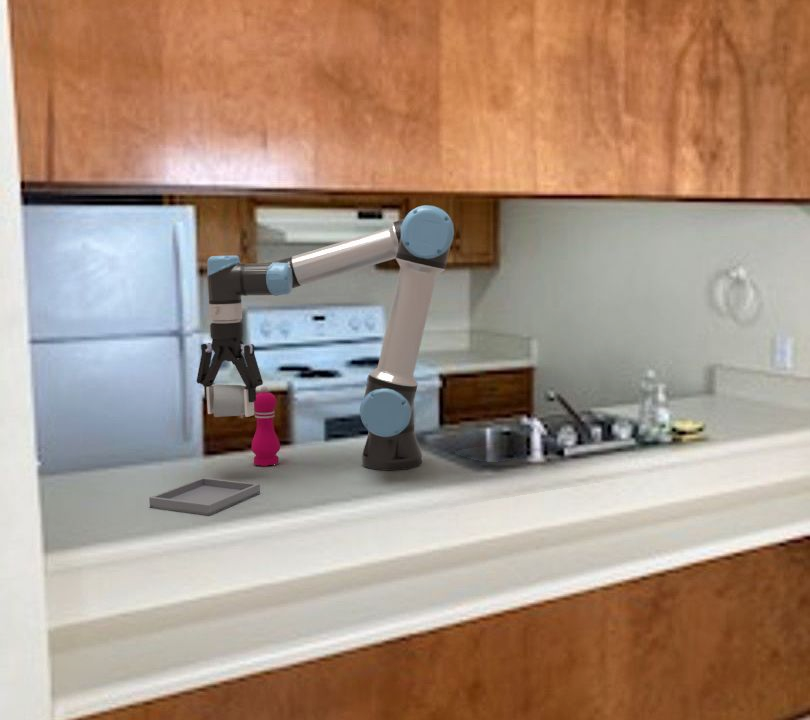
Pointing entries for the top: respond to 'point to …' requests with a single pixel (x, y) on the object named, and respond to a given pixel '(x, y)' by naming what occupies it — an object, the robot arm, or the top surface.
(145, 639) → the top surface
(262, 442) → the pepper mill
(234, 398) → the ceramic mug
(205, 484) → the grey tray
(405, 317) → the robot arm
